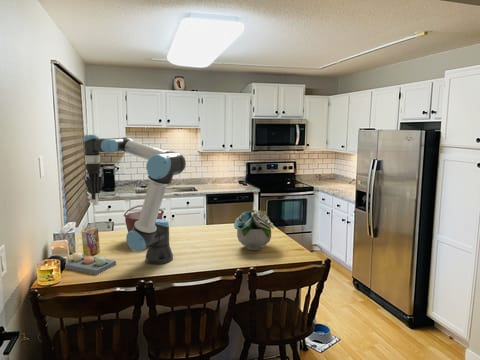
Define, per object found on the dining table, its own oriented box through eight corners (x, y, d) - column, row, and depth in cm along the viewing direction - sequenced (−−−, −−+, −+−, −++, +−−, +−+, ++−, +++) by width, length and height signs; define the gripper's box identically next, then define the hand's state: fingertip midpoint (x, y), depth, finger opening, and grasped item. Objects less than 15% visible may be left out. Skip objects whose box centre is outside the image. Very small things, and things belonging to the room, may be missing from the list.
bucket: (168, 238, 238) (167, 202, 234) (157, 249, 216) (156, 209, 212) (133, 237, 240) (131, 201, 236) (119, 248, 219) (117, 208, 215)
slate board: (116, 265, 192) (115, 260, 192) (97, 275, 180) (96, 270, 179) (82, 258, 201) (82, 254, 201) (61, 267, 188) (61, 263, 188)
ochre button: (84, 259, 194) (84, 252, 194) (77, 262, 190) (77, 255, 189) (77, 258, 196) (77, 251, 196) (70, 261, 192) (70, 254, 191)
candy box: (94, 251, 212) (93, 227, 210) (100, 252, 211) (98, 228, 208) (82, 256, 204) (81, 231, 202) (88, 257, 203) (86, 232, 200)
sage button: (107, 263, 188) (107, 256, 188) (100, 267, 184) (100, 260, 183) (100, 262, 190) (100, 255, 190) (93, 266, 186) (93, 258, 185)
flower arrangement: (271, 257, 204) (272, 216, 200) (229, 254, 209) (229, 213, 205) (276, 243, 228) (277, 206, 224) (238, 240, 233) (238, 204, 229)
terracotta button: (96, 263, 192) (95, 256, 191) (89, 267, 187) (88, 259, 186) (89, 262, 193) (88, 255, 193) (82, 265, 189) (81, 258, 188)
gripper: (96, 161, 201) (98, 201, 205) (78, 163, 189) (81, 206, 193) (106, 161, 199) (109, 202, 202) (89, 164, 187) (92, 207, 190)
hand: (95, 204), depth 198 cm, fingers closed
